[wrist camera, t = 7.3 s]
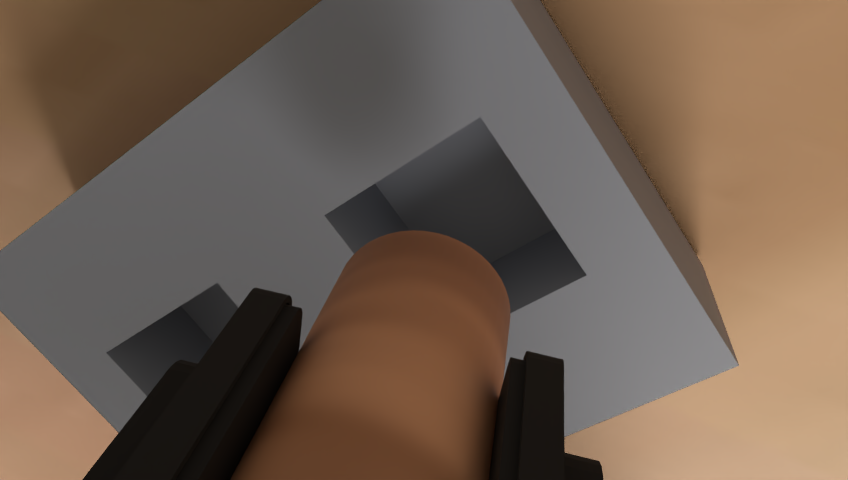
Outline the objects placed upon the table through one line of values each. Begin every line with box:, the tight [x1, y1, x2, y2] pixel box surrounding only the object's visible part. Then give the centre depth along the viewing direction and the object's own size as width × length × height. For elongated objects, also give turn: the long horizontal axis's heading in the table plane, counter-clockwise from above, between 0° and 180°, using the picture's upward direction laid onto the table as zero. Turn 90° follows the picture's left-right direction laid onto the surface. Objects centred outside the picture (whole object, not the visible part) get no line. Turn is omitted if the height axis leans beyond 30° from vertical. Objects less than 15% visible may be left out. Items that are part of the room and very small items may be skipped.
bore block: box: [0, 0, 739, 437], centre depth 21 cm, size 16×12×5 cm
